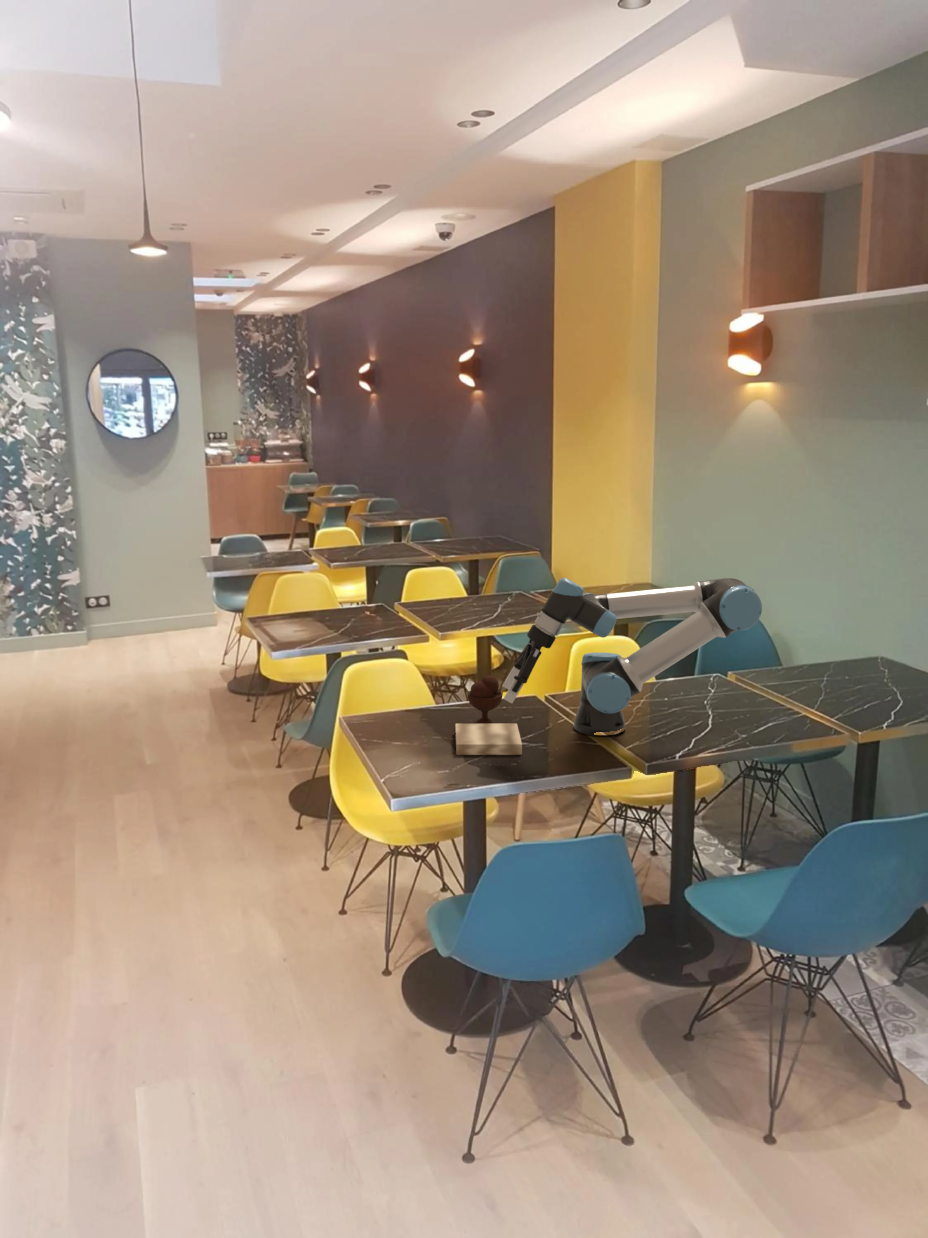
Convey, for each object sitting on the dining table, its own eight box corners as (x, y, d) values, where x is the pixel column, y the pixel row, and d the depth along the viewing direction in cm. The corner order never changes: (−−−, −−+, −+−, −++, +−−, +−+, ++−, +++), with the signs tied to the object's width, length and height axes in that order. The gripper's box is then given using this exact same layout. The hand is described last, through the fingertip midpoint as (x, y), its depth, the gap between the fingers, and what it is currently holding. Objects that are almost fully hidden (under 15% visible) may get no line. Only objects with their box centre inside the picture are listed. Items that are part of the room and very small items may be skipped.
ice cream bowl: (489, 715, 304) (490, 669, 301) (509, 725, 295) (510, 677, 292) (460, 721, 299) (460, 673, 296) (479, 731, 289) (480, 682, 286)
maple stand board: (516, 733, 288) (516, 723, 288) (521, 754, 271) (522, 744, 270) (455, 733, 288) (455, 723, 287) (456, 754, 270) (456, 744, 270)
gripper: (531, 615, 285) (494, 676, 289) (535, 632, 260) (496, 700, 264) (553, 627, 285) (516, 689, 289) (560, 646, 261) (520, 713, 265)
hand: (506, 694), depth 277 cm, fingers open, 13 cm apart
